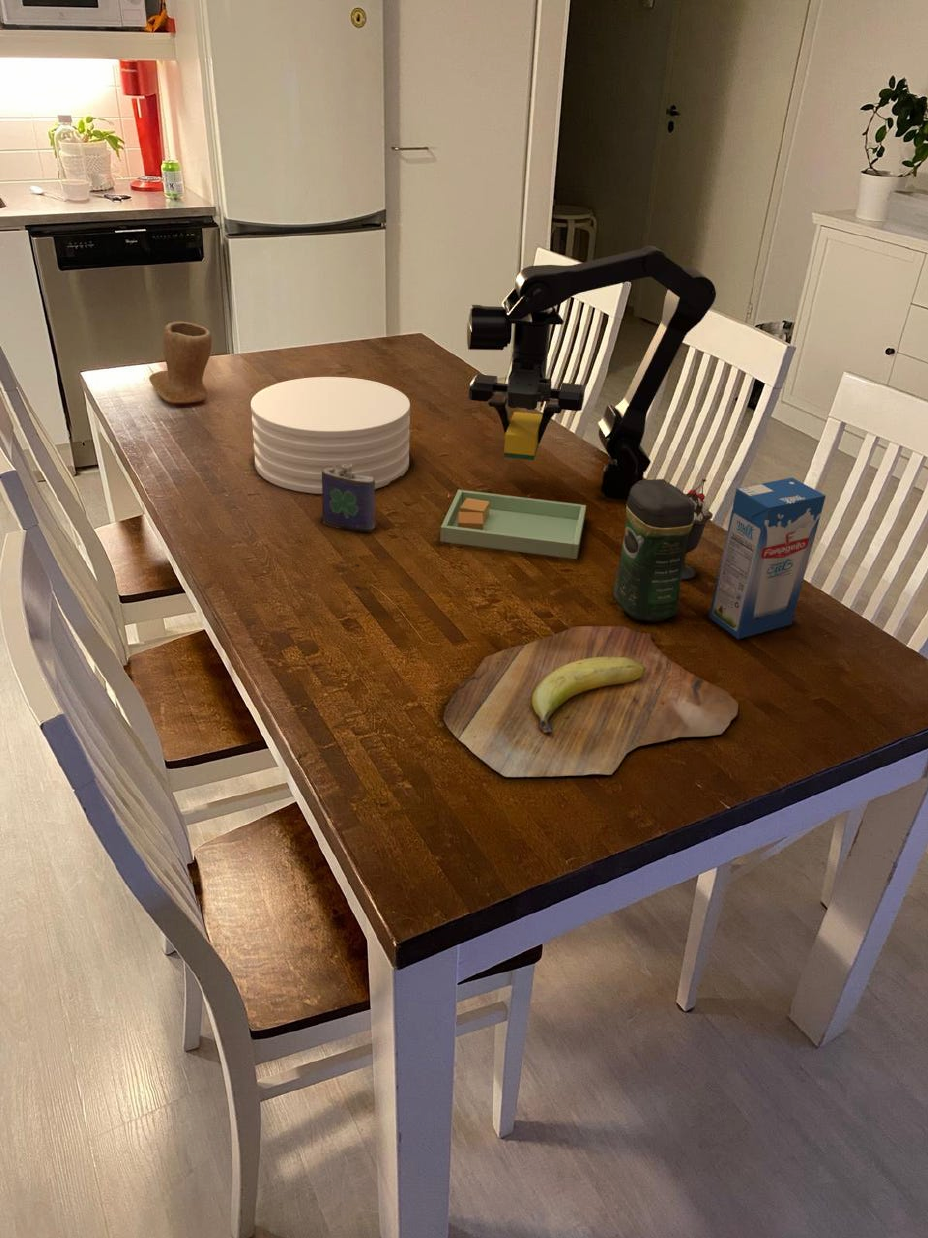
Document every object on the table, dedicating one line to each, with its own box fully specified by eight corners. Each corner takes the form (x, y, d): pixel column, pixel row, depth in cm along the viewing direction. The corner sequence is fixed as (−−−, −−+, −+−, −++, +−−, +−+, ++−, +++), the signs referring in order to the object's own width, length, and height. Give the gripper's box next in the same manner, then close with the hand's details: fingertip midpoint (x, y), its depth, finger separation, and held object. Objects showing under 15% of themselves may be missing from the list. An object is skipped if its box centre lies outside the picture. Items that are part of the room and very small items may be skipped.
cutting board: (618, 613, 138) (621, 590, 136) (763, 717, 119) (770, 692, 117) (404, 684, 121) (404, 658, 119) (533, 818, 102) (536, 790, 100)
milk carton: (737, 639, 134) (768, 507, 123) (708, 617, 139) (735, 488, 128) (791, 624, 138) (826, 495, 127) (761, 603, 143) (792, 477, 132)
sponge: (541, 436, 170) (542, 414, 168) (533, 460, 161) (535, 437, 159) (512, 433, 171) (514, 411, 169) (503, 457, 162) (505, 434, 160)
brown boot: (222, 403, 202) (216, 331, 194) (164, 410, 197) (155, 336, 189) (204, 381, 213) (198, 311, 205) (149, 387, 209) (140, 316, 201)
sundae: (703, 566, 152) (721, 477, 144) (697, 586, 146) (715, 494, 138) (661, 557, 153) (676, 469, 145) (653, 577, 148) (669, 486, 140)
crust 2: (482, 526, 158) (483, 512, 157) (482, 537, 155) (483, 523, 154) (457, 525, 158) (458, 511, 157) (457, 536, 155) (458, 522, 154)
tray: (584, 521, 163) (586, 504, 161) (576, 562, 151) (578, 544, 149) (457, 505, 166) (458, 489, 164) (439, 544, 154) (440, 526, 152)
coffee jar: (684, 620, 137) (708, 501, 128) (633, 627, 135) (653, 506, 125) (653, 587, 145) (673, 471, 135) (605, 592, 143) (621, 475, 133)
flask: (377, 528, 157) (377, 466, 152) (369, 535, 155) (368, 473, 149) (327, 516, 160) (324, 455, 154) (318, 523, 158) (315, 462, 152)
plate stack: (224, 474, 172) (218, 412, 166) (304, 424, 194) (302, 368, 188) (366, 506, 164) (365, 442, 158) (433, 450, 186) (434, 392, 180)
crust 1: (489, 515, 162) (490, 501, 161) (482, 525, 159) (483, 511, 157) (466, 511, 163) (466, 497, 162) (459, 521, 160) (460, 507, 158)
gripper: (464, 358, 152) (460, 452, 160) (584, 370, 149) (573, 465, 158) (476, 339, 161) (472, 429, 169) (589, 350, 159) (579, 440, 167)
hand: (523, 441), depth 166 cm, fingers closed on sponge, 5 cm apart
